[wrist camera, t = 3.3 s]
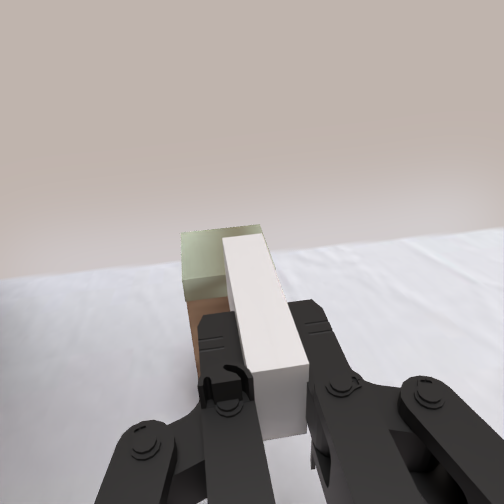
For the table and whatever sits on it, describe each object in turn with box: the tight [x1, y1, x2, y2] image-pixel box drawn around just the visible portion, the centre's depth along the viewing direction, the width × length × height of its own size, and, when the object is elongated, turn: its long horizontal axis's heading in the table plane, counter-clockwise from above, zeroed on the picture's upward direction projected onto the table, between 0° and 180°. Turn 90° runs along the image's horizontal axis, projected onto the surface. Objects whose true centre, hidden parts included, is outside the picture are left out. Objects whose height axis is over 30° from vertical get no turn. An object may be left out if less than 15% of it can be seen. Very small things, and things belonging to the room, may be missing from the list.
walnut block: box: [181, 224, 276, 380], centre depth 28 cm, size 5×5×13 cm
